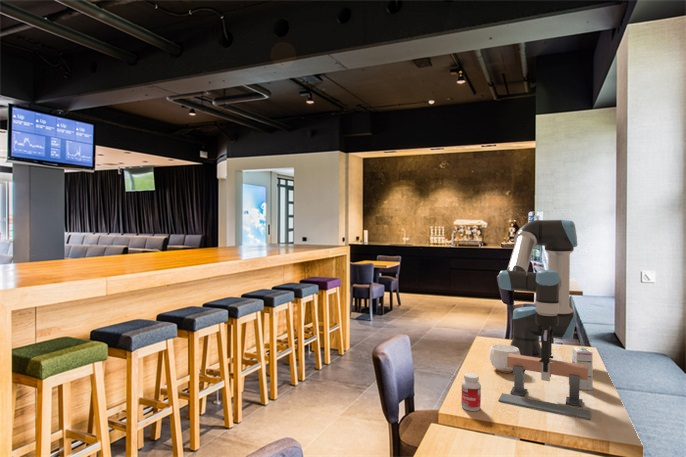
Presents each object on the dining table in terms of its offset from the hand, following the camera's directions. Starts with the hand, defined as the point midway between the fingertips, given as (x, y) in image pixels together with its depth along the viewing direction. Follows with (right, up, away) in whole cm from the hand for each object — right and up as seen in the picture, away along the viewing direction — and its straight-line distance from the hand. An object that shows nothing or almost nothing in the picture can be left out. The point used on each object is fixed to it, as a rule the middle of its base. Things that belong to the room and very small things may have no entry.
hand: (546, 378), depth 155 cm
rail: (0, +2, 0) cm, 2 cm away
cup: (-4, -7, +29) cm, 30 cm away
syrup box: (+19, -7, +11) cm, 23 cm away
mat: (-5, -7, -8) cm, 12 cm away
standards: (0, -7, 0) cm, 7 cm away
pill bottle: (-30, -7, -9) cm, 32 cm away
